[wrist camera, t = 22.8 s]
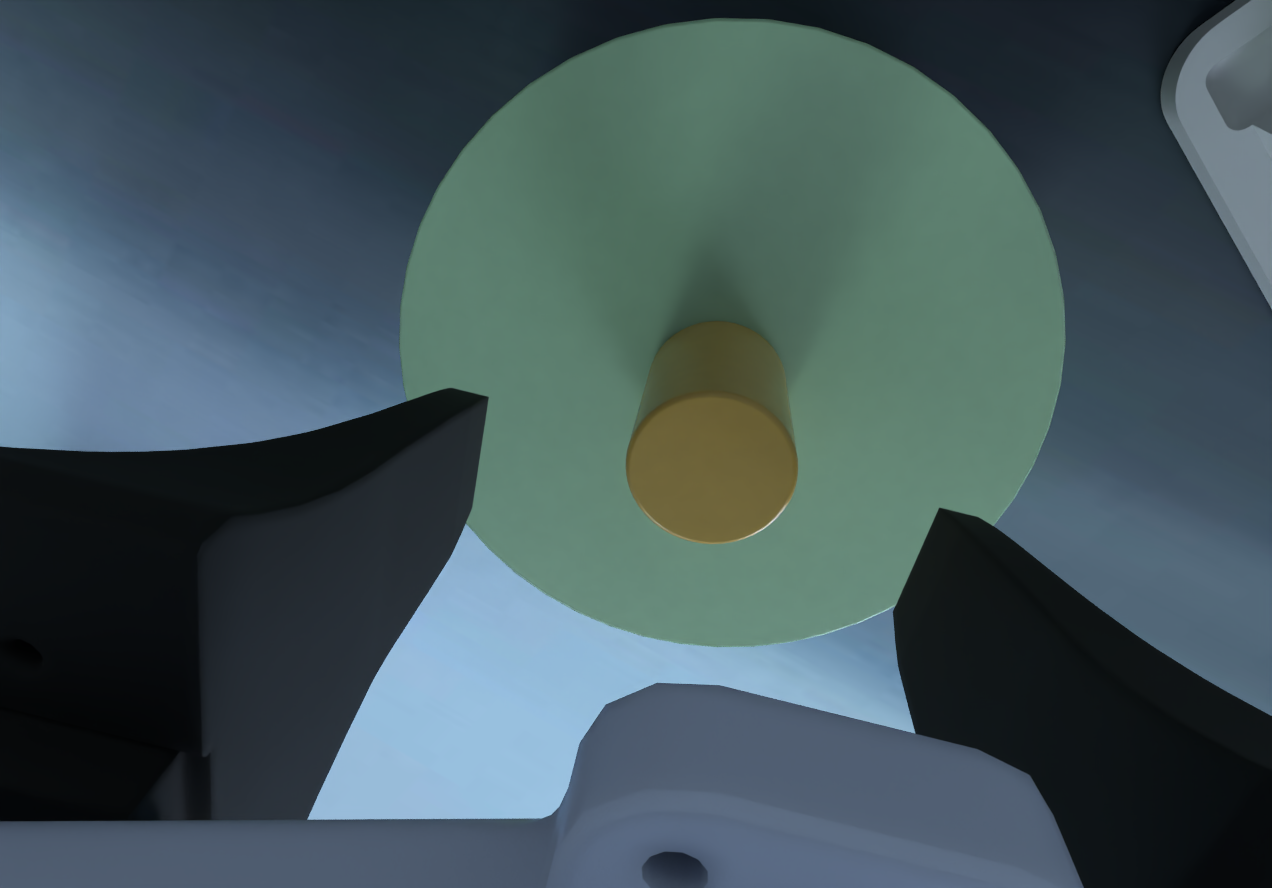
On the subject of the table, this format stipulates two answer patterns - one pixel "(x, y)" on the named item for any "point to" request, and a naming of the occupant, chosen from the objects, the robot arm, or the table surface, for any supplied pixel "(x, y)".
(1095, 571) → the table surface
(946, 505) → the lid
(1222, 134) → the phone holder
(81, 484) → the robot arm
